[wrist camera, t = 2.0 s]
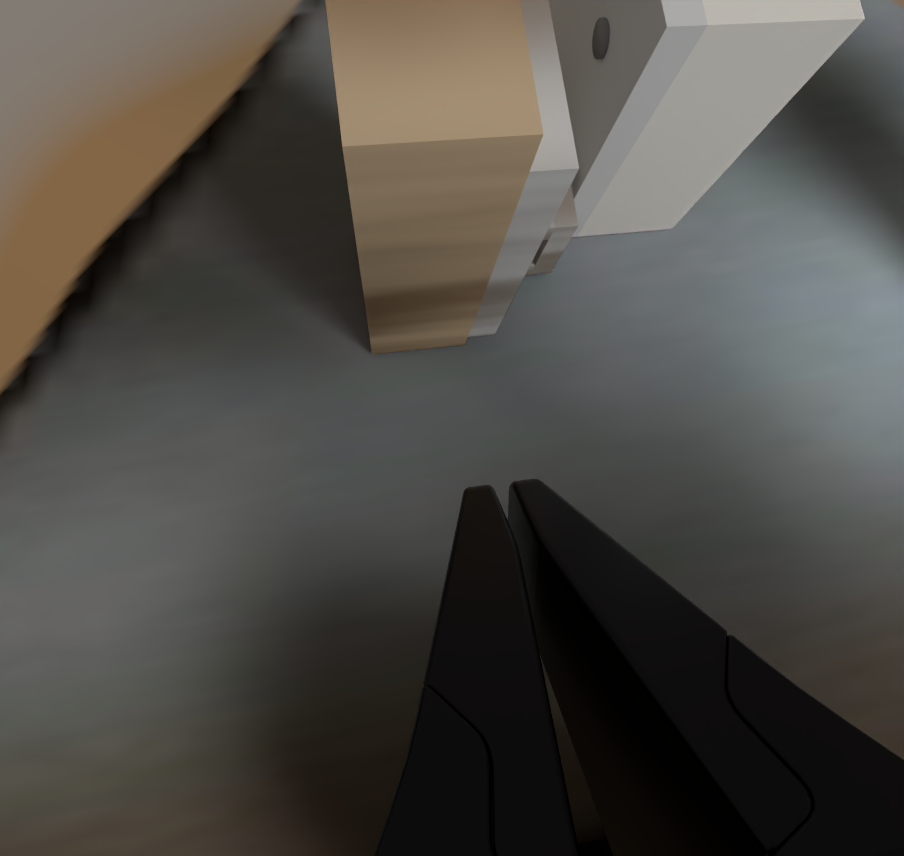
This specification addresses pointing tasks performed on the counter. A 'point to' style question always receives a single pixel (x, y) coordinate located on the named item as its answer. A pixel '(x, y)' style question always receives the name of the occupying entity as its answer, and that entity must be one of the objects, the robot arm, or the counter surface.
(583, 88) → the frame leaf
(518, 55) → the light wood tall block
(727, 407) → the counter surface
